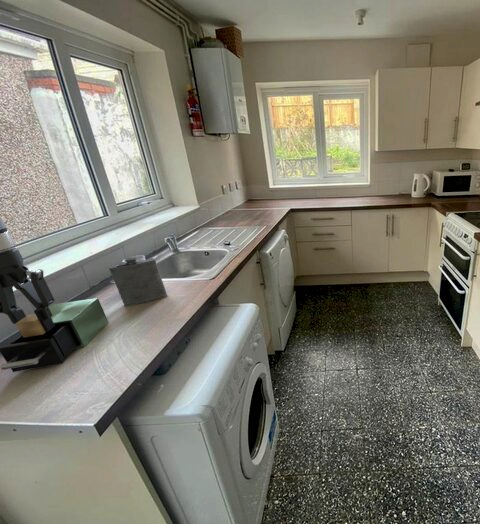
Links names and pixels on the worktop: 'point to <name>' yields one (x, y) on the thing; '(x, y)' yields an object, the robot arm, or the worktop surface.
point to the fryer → (81, 318)
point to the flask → (138, 281)
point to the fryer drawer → (39, 349)
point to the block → (30, 326)
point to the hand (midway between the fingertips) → (39, 330)
